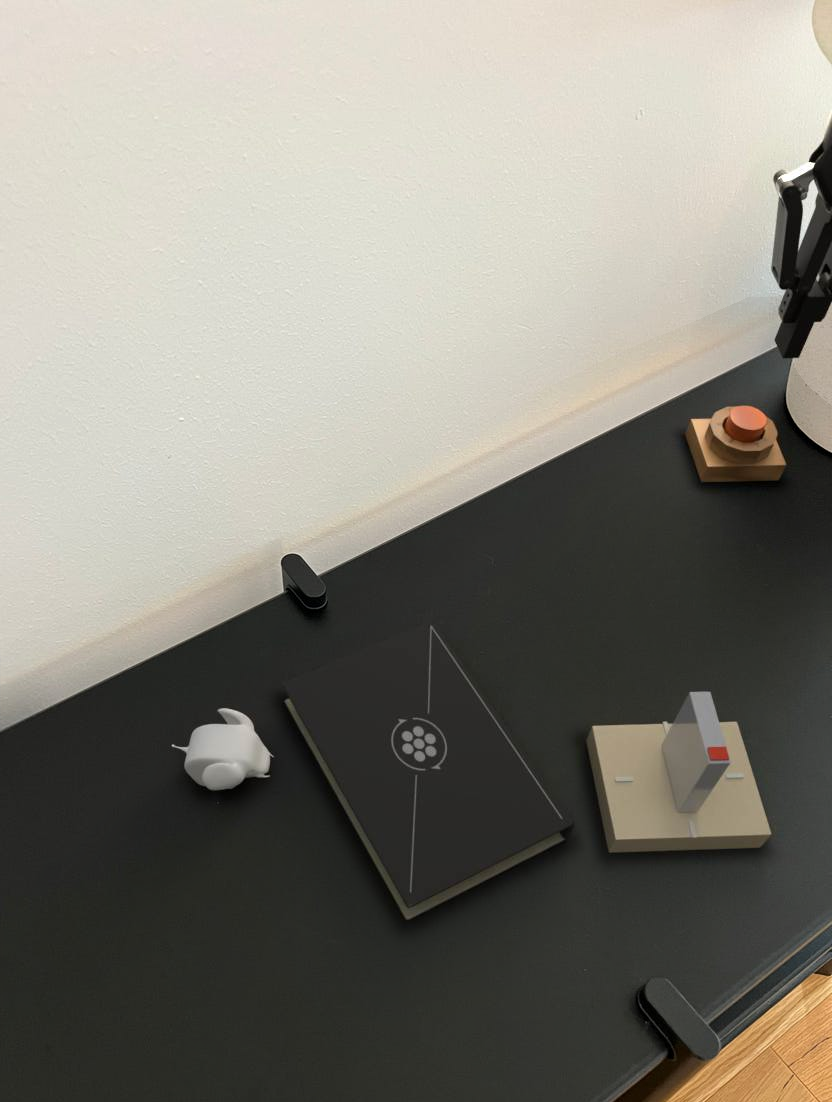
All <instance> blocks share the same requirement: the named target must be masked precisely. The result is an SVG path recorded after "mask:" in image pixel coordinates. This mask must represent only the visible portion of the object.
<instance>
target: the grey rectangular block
mask: <svg viewBox="0 0 832 1102" xmlns="http://www.w3.org/2000/svg"><path fill="white" fill-rule="evenodd" d="M719 722H720V721H719V717H718V714H717V710H716V706H715V703H714V699H713V696H712V693H711V691H690V692H689V693H687V696H686V697H685V699H684V701H683V704H682V706H681V707H680V709H679V711H678V713H677V715H676V717H675V719H674V721H673V722H672V723H671V724H672V726H671V728H670V730H669V732H668V734H667V735H666V737H665V739H664V741H663V743H662V749H663V754H664V758H665V762H666V766H667V770H668V774H669V778H670V782H671V787H672V791H673V795H674V799H675V803H676V807H677V811H678V812H698V811H699V809H700V808H701V806H702V805H703V803H704V802H705V800H706V799H707V797H708V796H709V794H710V793H711V791H712V790H713V788H714V787H715V785H716V784H717V782H718V781H719V780H720V778H721V777H722V775H723V774H724V772H725V771H726V769H727V768H728V766H729V765H730V763H731V762H730V759H729V755H728V752H727V748H726V745H725V741H724V738H723V734H722V731H721V727H720V724H719Z"/></svg>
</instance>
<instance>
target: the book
mask: <svg viewBox="0 0 832 1102" xmlns="http://www.w3.org/2000/svg"><path fill="white" fill-rule="evenodd" d="M282 688H283V690H284V692H285V693H286V695H287V697H288V698H287V699H285V700H284V701H283V703H284V705H285V707H286V708H287V710H288V713H289V714H290V716H291V718H292V720H293V721H294V723H295V725H296V727H297V728H298V730H299V731H300V734H301V736H302V737H303V740H304V741H305V743H306V745H307V746H308V748H309V750H310V752H311V754H312V755H313V758H314V759H315V761H316V763H317V765H318V766H319V768H320V770H321V771H322V773H323V775H324V777H325V778H326V780H327V782H328V784H329V786H330V787H331V789H332V791H333V793H334V795H335V796H336V798H337V800H338V802H339V804H340V806H341V808H342V809H343V811H344V813H345V814H346V817H347V818H348V820H349V822H350V823H351V825H352V827H353V829H354V830H355V832H356V834H357V836H358V838H359V840H360V842H361V843H362V845H363V848H364V849H365V850H366V852H367V854H368V855H369V858H370V859H371V861H372V863H373V865H374V866H375V869H376V870H377V872H378V874H379V875H380V877H381V879H382V881H383V882H384V884H385V886H386V888H387V890H388V892H389V894H390V895H391V897H392V899H393V901H394V902H395V904H396V906H397V908H398V909H399V911H400V913H401V915H402V917H403V919H404V921H406V922H409V921H411V920H413V919H415V918H417V917H419V916H421V915H424V914H425V913H426V912H428V911H431V910H433V909H435V908H436V907H438V906H441V905H442V904H444V903H446V902H448V901H450V900H452V899H454V898H456V897H458V896H460V895H462V894H464V893H466V892H467V891H469V890H472V889H474V888H475V887H477V886H479V885H481V884H483V883H485V882H488V881H489V880H492V879H493V878H495V877H497V876H498V875H501V874H502V873H503V874H504V873H506V871H508V870H510V869H512V868H514V867H516V866H518V865H520V864H522V863H524V862H526V861H528V860H530V859H532V858H533V857H536V856H538V855H540V854H541V853H544V852H545V851H548V850H549V849H551V848H554V847H556V846H557V845H559V844H561V843H563V842H565V841H566V840H567V839H568V838H569V837H570V835H571V834H572V832H573V830H574V828H575V822H574V820H573V818H572V817H571V816H570V814H569V812H567V810H566V808H565V807H564V805H563V804H562V802H560V800H559V798H558V797H557V796H556V794H555V793H554V791H553V789H552V788H551V787H550V786H549V784H548V782H547V781H546V780H545V779H544V777H543V776H542V774H541V773H540V772H539V770H538V769H537V767H536V765H535V764H534V762H533V761H532V760H531V758H530V757H529V755H528V754H527V753H526V751H525V750H524V748H523V747H522V746H521V744H520V743H519V742H518V740H517V739H516V737H515V736H514V734H513V733H512V731H511V730H510V728H509V727H508V726H507V724H506V723H505V721H504V720H503V718H502V717H501V716H500V714H499V713H498V711H497V710H496V709H495V707H494V705H493V704H492V702H491V701H490V700H489V698H488V697H487V696H486V694H485V693H484V691H483V690H482V689H481V687H480V685H479V683H477V682H476V680H475V678H474V677H473V676H472V675H471V673H470V672H469V669H467V666H465V664H464V663H463V661H462V660H461V658H460V657H459V655H458V654H457V653H456V651H455V650H454V648H453V647H452V646H451V644H450V642H449V641H448V640H447V639H446V637H445V636H444V634H443V633H442V631H441V630H440V628H439V627H438V626H437V624H436V623H435V622H434V620H432V621H431V620H430V621H427V622H424V623H423V624H422V623H421V624H420V625H417V626H415V627H412V628H410V629H408V630H405V631H403V632H400V633H397V634H396V635H394V636H391V637H388V638H386V639H385V640H382V641H379V642H377V643H375V644H372V645H370V646H367V647H365V648H363V649H361V650H358V651H356V652H354V653H350V654H349V655H346V656H344V657H342V658H339V659H337V660H334V661H332V662H330V663H327V664H325V665H323V666H320V667H318V668H315V669H313V670H311V671H309V672H306V673H304V674H301V675H299V676H296V677H294V678H292V679H290V680H287V681H284V682H283V683H282Z"/></svg>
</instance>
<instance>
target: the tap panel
mask: <svg viewBox="0 0 832 1102" xmlns="http://www.w3.org/2000/svg"><path fill="white" fill-rule="evenodd" d="M672 724H673V723H668V721H662V723H646V724H617V725H616V724H613V725H592V726H591V729H590V731H589V734H588V735H587V738H586V741H585V742H586V747H587V753H588V756H589V762H590V767H591V772H592V776H593V777H592V778H593V782H594V786H595V787H594V788H595V790H596V791H595V792H596V796H597V802H598V806H599V811H600V817H601V821H602V826H603V831H604V836H605V842H606V846H607V852H608V853H612V854H613V853H637V852H638V853H639V852H667V851H670V852H671V851H672V852H673V851H696V850H697V851H699V850H728V849H730V850H731V849H758V848H759V849H760V848H762V847H763V845H764V844H765V843H767V841H768V840H769V838H770V837H771V836H772V831H771V828H770V824H769V821H768V818H767V815H766V812H765V808H764V805H763V801H762V797H761V796H760V792H759V788H758V786H757V782H756V778H755V776H754V773H753V769H752V766H751V763H750V759H749V756H748V753H747V750H746V745H745V743H744V740H743V737H742V733H741V730H740V727H739V723H738V721H719V724H720V727H721V731H722V734H723V738H724V741H725V745H726V748H727V752H728V755H729V759H730V762H731V763H730V765H729V766H728V768H727V769H726V771H725V772H724V774H723V775H722V777H721V778H720V780H719V781H718V782H717V784H716V785H715V787H714V788H713V790H712V791H711V793H710V794H709V796H708V797H707V799H706V800H705V802H704V803H703V805H702V806H701V808H700V809H699V811H698V812H678V811H677V807H676V803H675V799H674V795H673V791H672V787H671V782H670V778H669V774H668V770H667V766H666V762H665V758H664V754H663V749H662V743H663V741H664V739H665V737H666V735H667V734H668V732H669V730H670V728H671V726H672Z"/></svg>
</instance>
